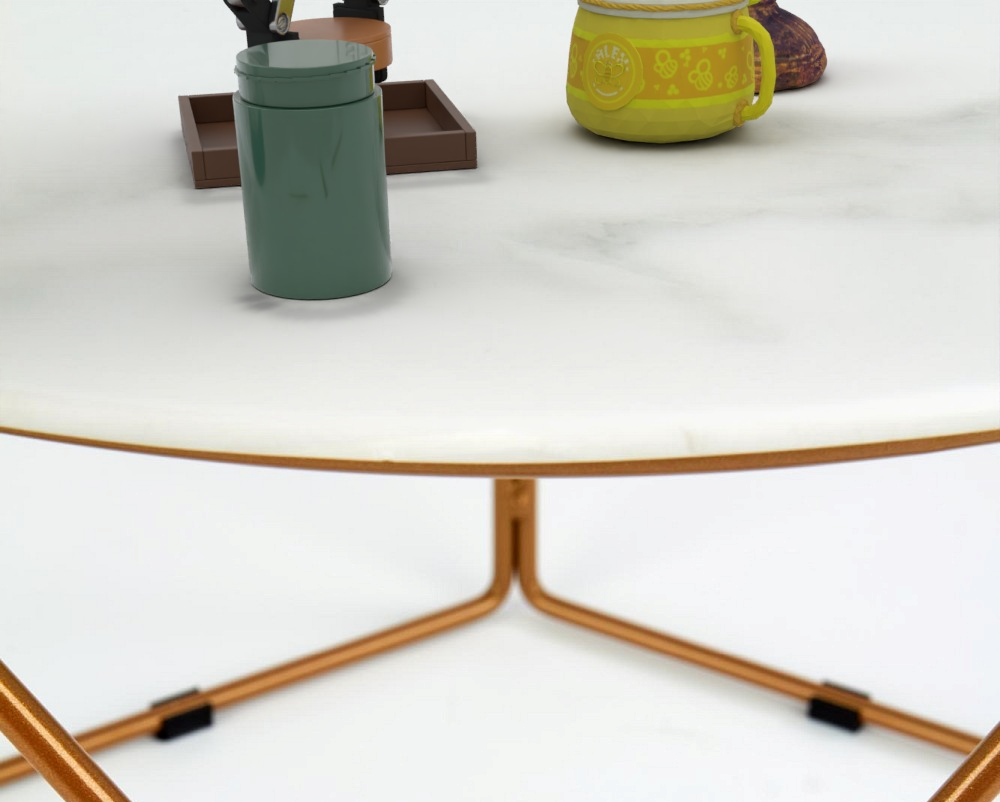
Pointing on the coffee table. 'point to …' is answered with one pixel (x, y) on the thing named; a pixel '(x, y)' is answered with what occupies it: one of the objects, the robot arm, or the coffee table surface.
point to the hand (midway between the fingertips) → (321, 91)
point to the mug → (667, 68)
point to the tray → (407, 129)
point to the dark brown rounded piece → (788, 47)
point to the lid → (350, 34)
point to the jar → (312, 168)
